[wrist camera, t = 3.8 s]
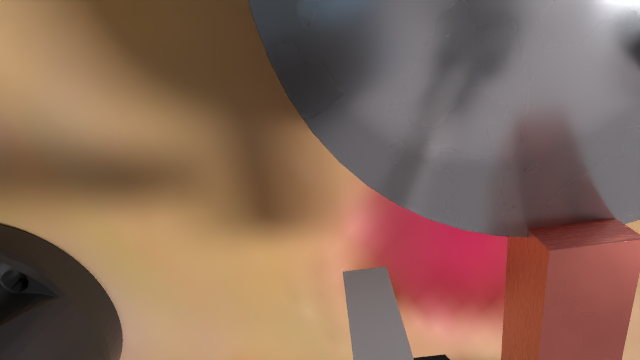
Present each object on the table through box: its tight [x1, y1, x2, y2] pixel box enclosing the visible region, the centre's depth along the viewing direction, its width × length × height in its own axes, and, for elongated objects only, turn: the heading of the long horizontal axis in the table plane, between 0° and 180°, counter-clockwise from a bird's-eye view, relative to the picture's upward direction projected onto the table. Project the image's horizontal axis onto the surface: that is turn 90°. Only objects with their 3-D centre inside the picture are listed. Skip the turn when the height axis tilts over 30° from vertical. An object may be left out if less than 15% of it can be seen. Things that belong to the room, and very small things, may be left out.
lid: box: [249, 0, 640, 360], centre depth 10 cm, size 23×17×4 cm
